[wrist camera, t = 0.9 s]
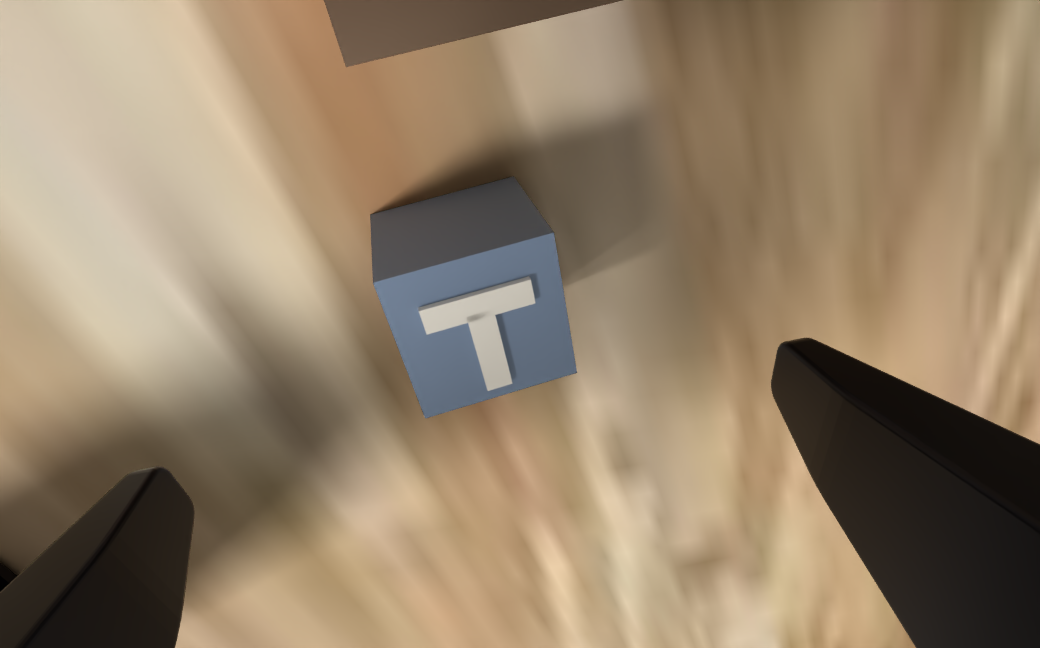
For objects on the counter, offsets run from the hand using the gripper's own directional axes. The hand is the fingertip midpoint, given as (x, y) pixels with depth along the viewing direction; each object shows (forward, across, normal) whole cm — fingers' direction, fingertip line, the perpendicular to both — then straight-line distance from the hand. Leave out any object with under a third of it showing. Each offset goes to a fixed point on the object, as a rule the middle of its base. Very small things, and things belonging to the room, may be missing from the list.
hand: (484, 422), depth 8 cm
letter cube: (+12, 0, +4) cm, 13 cm away
